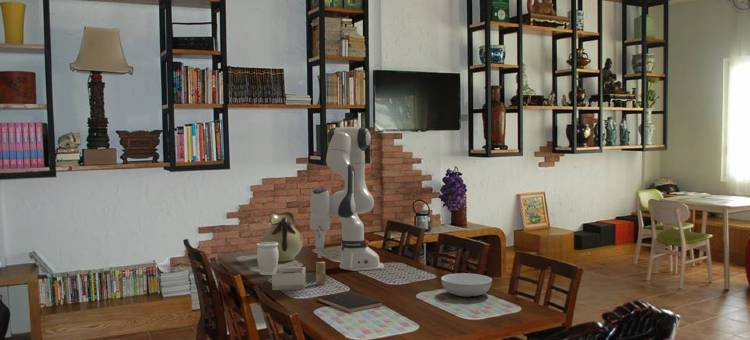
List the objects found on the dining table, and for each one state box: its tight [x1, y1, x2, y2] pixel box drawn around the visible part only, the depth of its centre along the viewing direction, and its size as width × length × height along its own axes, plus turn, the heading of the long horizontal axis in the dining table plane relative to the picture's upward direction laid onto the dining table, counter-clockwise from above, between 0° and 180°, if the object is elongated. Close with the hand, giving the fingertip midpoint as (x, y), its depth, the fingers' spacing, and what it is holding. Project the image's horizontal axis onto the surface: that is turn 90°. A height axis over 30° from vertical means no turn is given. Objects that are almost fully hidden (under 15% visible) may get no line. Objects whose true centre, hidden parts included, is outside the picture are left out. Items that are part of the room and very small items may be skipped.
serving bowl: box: [440, 272, 493, 298], centre depth 273 cm, size 21×21×7 cm
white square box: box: [271, 266, 307, 291], centre depth 292 cm, size 14×14×7 cm
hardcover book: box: [317, 290, 384, 313], centre depth 261 cm, size 16×23×2 cm
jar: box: [256, 242, 279, 276], centre depth 319 cm, size 11×10×15 cm
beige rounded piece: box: [260, 211, 304, 263], centre depth 355 cm, size 22×24×25 cm
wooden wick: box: [315, 261, 326, 286], centre depth 295 cm, size 4×2×10 cm, turn 94°
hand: (319, 255), depth 294 cm, fingers open, 8 cm apart
